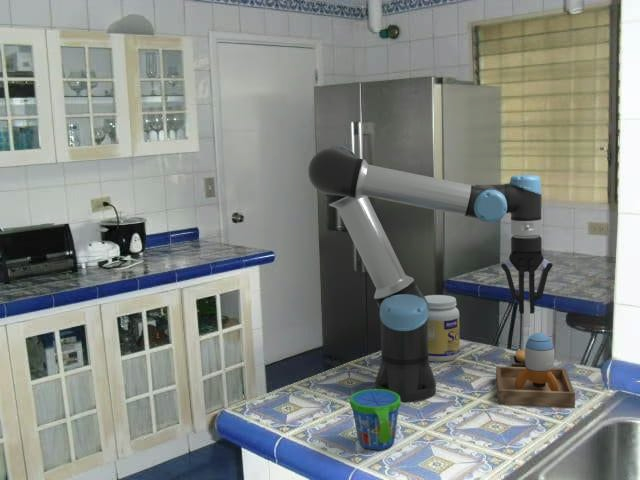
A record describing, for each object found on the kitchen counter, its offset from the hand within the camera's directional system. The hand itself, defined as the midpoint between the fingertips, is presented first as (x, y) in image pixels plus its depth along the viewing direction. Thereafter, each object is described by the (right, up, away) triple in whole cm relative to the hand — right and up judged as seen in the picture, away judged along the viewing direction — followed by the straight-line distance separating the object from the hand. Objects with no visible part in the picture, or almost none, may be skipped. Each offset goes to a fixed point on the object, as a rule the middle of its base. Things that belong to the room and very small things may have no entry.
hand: (526, 325), depth 182 cm
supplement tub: (-20, -11, +20) cm, 30 cm away
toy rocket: (-1, -14, -11) cm, 18 cm away
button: (0, -9, +2) cm, 9 cm away
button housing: (0, -13, +2) cm, 13 cm away
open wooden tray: (-2, -15, -11) cm, 19 cm away
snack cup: (-42, -21, -35) cm, 58 cm away
